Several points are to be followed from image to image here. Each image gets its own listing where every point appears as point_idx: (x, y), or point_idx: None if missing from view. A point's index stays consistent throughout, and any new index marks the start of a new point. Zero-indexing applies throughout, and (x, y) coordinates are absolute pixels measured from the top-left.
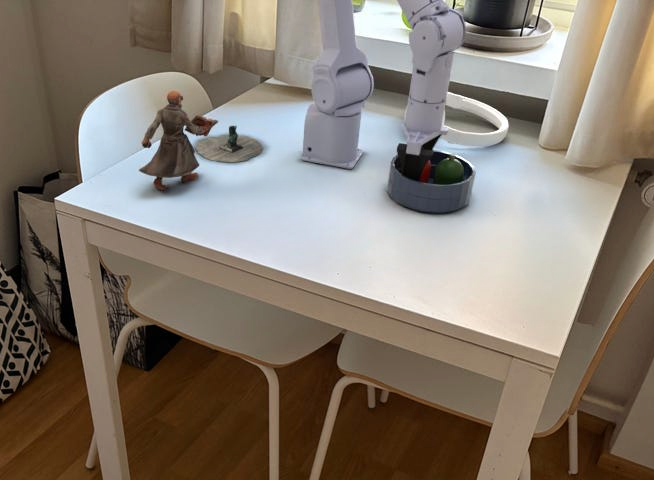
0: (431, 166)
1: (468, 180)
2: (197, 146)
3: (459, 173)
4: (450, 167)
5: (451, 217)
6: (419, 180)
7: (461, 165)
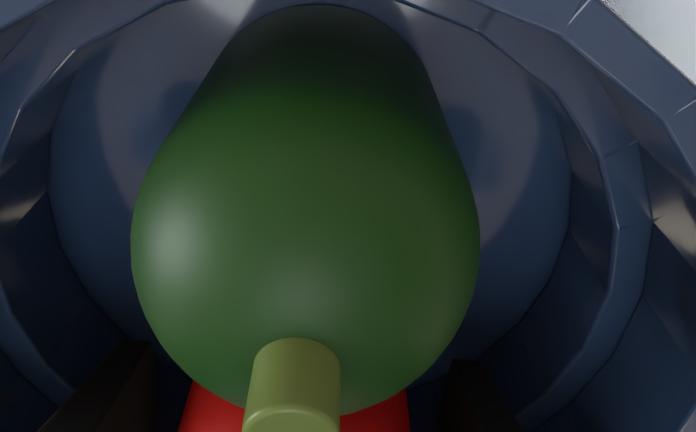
0: (19, 309)
1: (594, 17)
2: None
3: (434, 167)
4: (445, 325)
5: (646, 35)
6: (519, 424)
7: (310, 196)
